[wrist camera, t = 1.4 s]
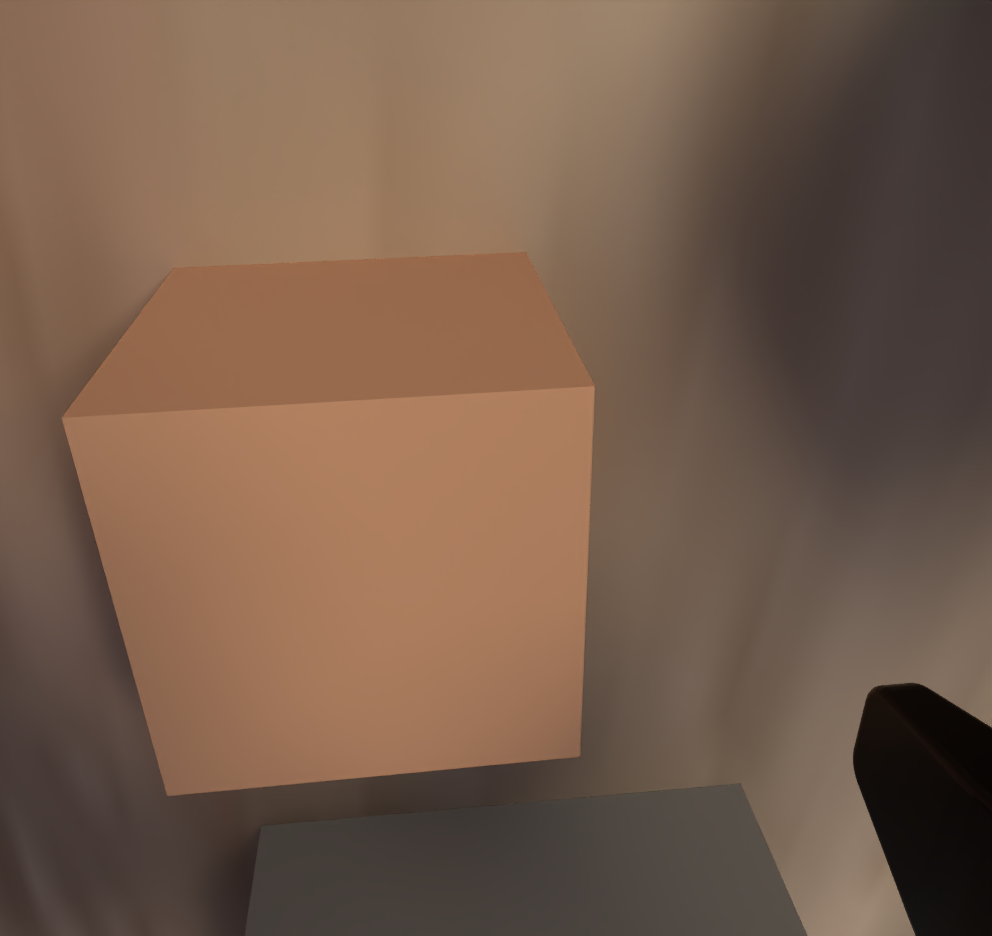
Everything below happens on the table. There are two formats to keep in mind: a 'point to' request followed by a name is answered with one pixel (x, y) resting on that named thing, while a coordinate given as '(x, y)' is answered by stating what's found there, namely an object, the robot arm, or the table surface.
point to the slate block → (528, 871)
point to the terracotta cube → (345, 518)
